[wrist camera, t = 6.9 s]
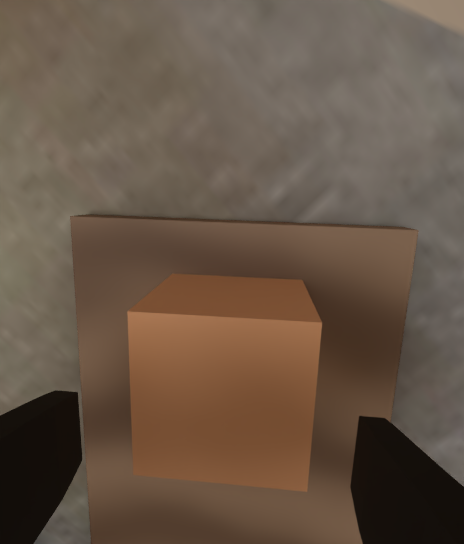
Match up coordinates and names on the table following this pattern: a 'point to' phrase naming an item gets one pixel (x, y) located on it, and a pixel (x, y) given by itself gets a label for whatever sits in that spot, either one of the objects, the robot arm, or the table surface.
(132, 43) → the table surface
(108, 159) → the table surface
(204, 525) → the board
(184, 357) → the terracotta cube
